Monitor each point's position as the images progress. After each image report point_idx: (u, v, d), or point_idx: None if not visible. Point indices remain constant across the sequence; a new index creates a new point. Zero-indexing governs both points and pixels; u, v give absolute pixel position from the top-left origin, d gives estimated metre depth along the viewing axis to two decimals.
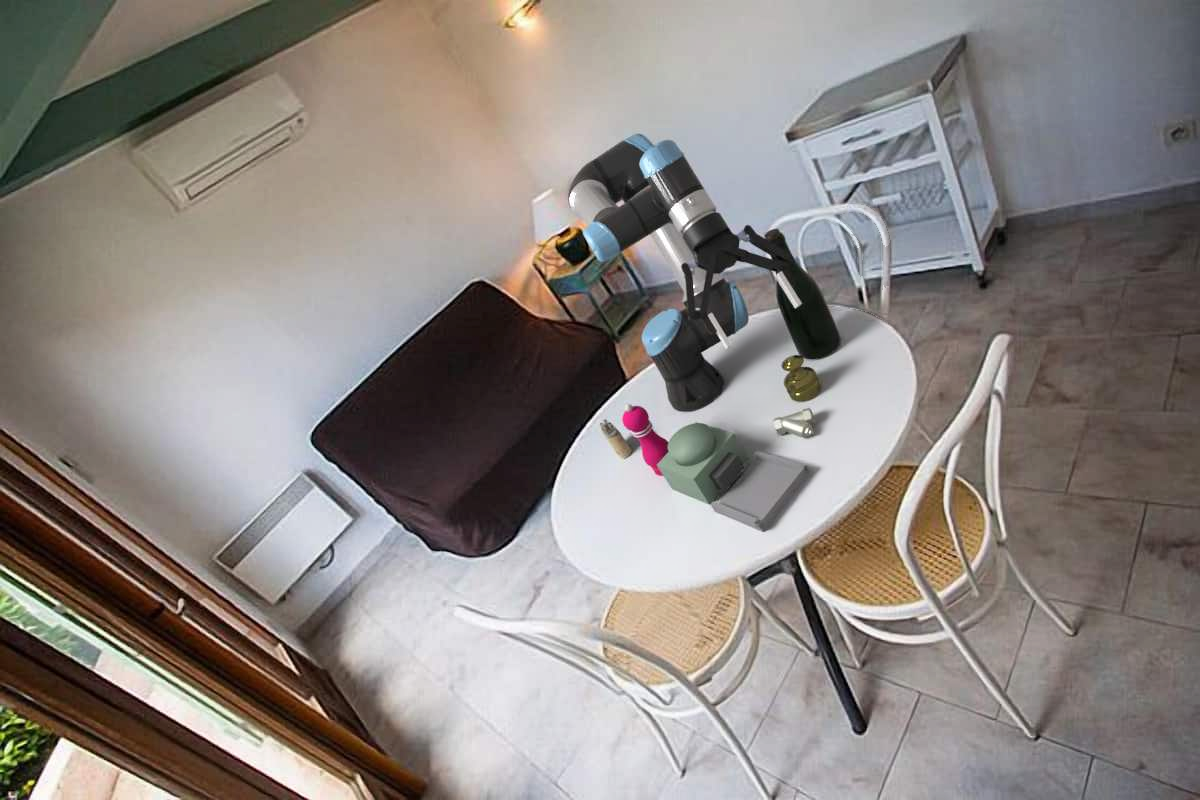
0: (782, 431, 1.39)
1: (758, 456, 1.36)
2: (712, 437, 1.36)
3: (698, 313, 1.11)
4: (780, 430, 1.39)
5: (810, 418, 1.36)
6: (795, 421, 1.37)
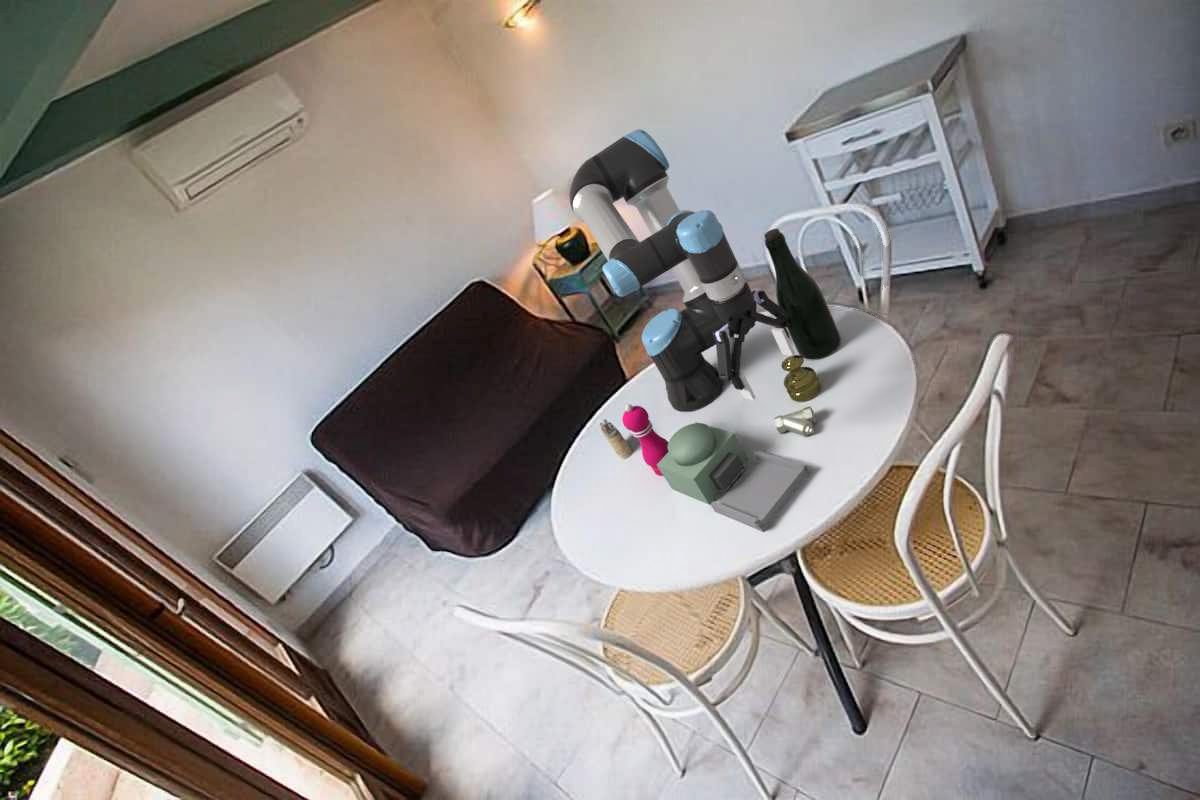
0: (783, 429, 1.39)
1: (758, 456, 1.36)
2: (712, 437, 1.36)
3: (732, 374, 1.24)
4: (781, 428, 1.39)
5: (811, 416, 1.36)
6: (796, 420, 1.37)
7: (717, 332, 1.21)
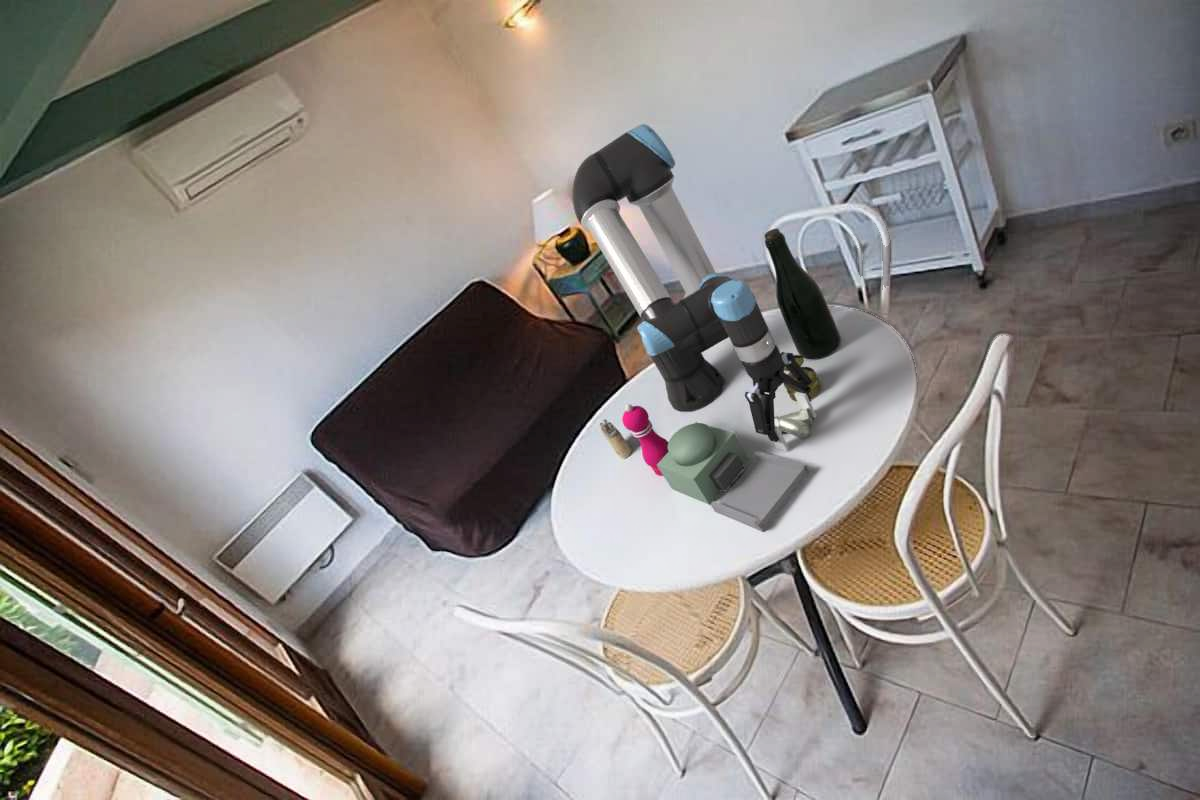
0: None
1: (758, 456, 1.36)
2: (712, 437, 1.36)
3: (768, 429, 1.32)
4: None
5: (807, 418, 1.36)
6: (792, 421, 1.37)
7: (749, 394, 1.28)
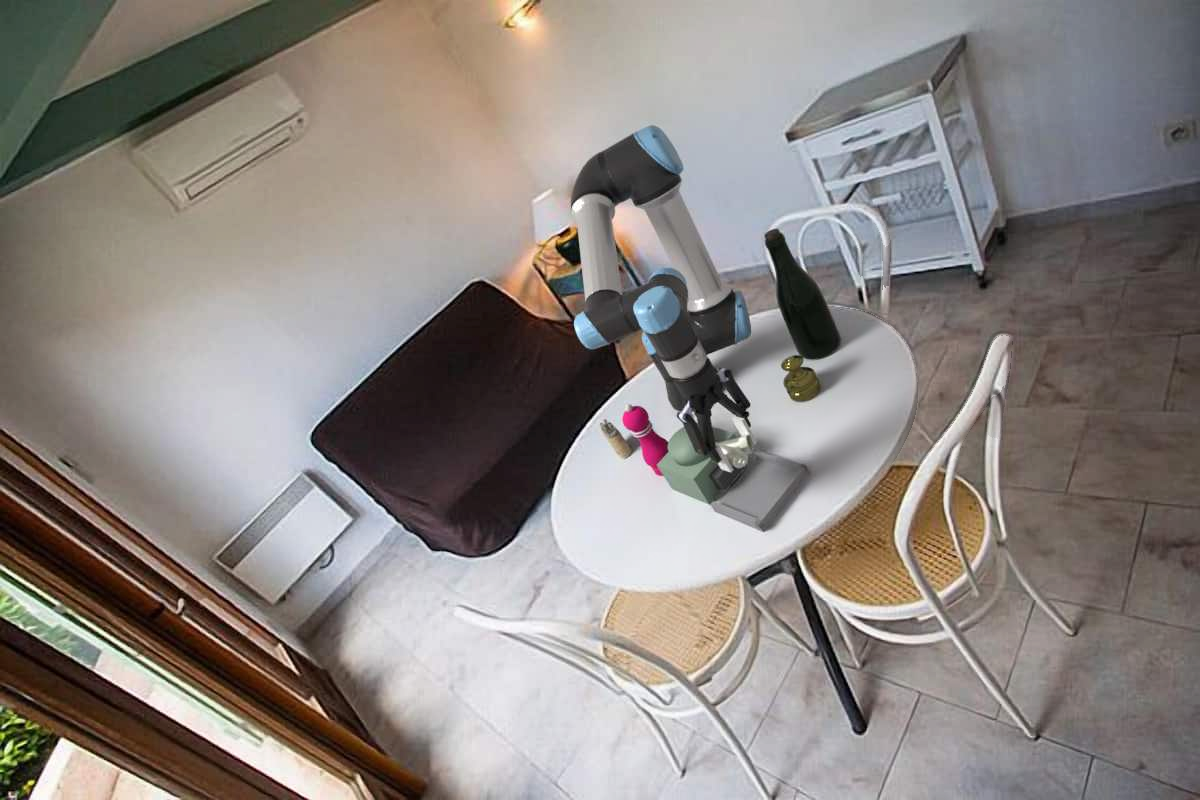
0: None
1: (758, 456, 1.36)
2: None
3: (709, 449, 1.20)
4: None
5: (746, 446, 1.23)
6: (730, 449, 1.24)
7: (680, 415, 1.16)
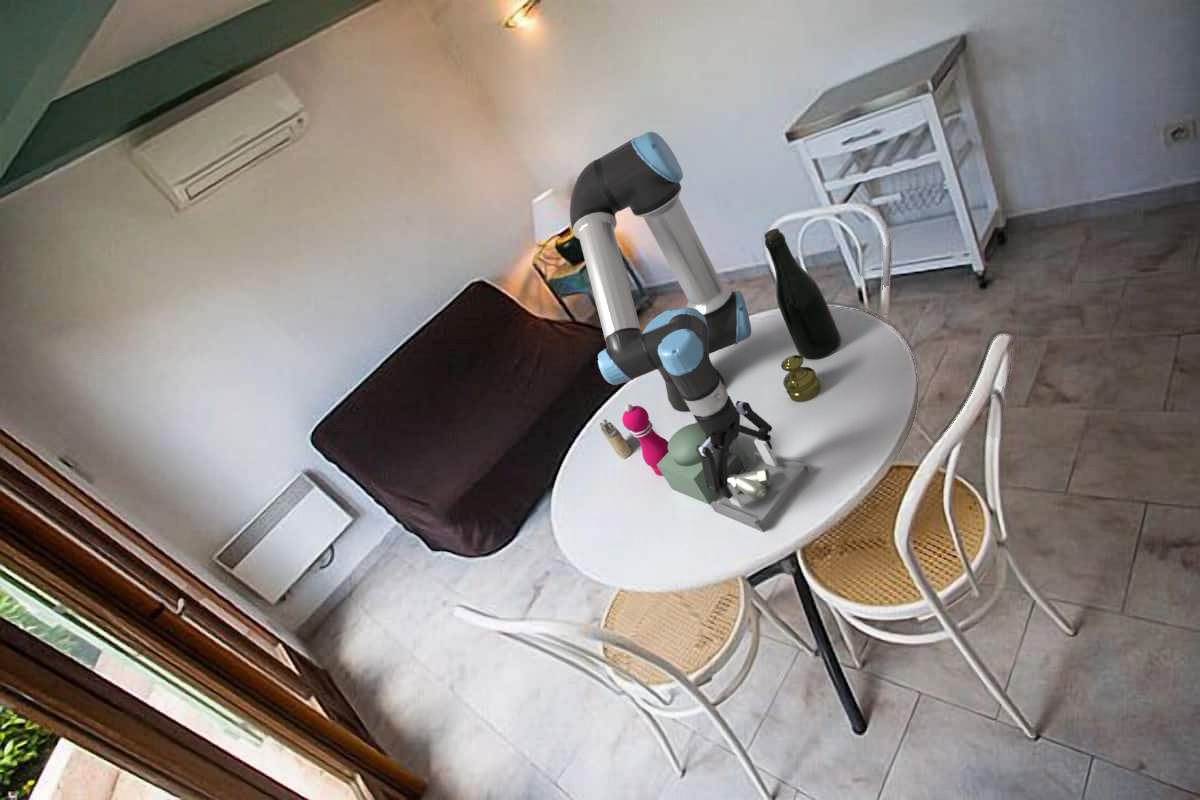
0: (736, 490, 1.31)
1: (758, 456, 1.36)
2: None
3: (720, 485, 1.23)
4: None
5: (765, 479, 1.28)
6: (749, 482, 1.28)
7: (700, 448, 1.20)
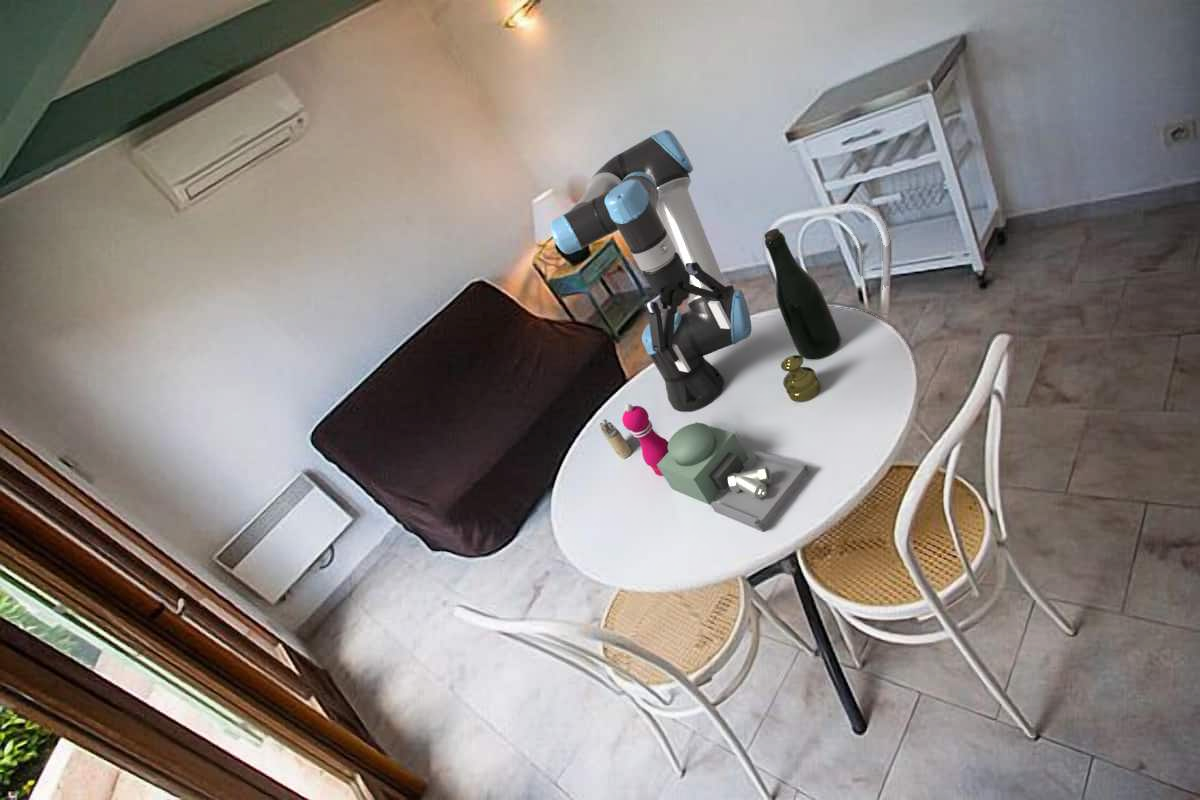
0: (736, 488, 1.31)
1: (758, 456, 1.36)
2: (712, 437, 1.36)
3: (665, 346, 1.24)
4: (734, 487, 1.31)
5: (765, 478, 1.28)
6: (749, 480, 1.29)
7: (648, 303, 1.21)
